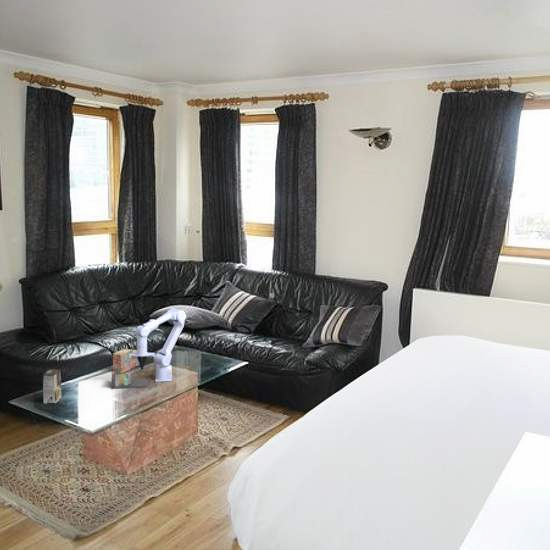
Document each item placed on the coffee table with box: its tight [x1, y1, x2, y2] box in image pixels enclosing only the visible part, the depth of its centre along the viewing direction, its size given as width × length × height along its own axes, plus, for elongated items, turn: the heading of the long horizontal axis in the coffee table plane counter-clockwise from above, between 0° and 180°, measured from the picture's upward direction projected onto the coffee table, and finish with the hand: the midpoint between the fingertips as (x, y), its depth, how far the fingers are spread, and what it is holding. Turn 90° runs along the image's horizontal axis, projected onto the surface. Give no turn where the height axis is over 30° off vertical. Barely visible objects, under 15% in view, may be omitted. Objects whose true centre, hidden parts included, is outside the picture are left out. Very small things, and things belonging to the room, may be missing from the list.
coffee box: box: [42, 368, 62, 404], centre depth 316 cm, size 9×6×16 cm
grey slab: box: [111, 372, 148, 390], centre depth 346 cm, size 20×12×6 cm, turn 103°
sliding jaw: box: [123, 371, 132, 386], centre depth 346 cm, size 4×10×5 cm, turn 13°
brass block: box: [118, 373, 125, 385], centre depth 345 cm, size 3×7×4 cm, turn 13°
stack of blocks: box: [112, 348, 140, 374], centre depth 376 cm, size 21×6×12 cm, turn 158°
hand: (141, 368), depth 347 cm, fingers closed
